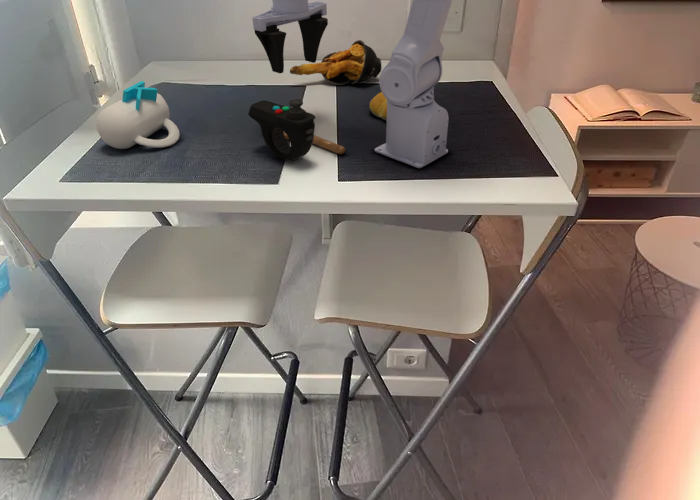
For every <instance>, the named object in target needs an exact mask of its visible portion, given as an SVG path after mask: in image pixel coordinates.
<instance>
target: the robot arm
mask: <svg viewBox="0 0 700 500" xmlns="http://www.w3.org/2000/svg"><path fill="white" fill-rule="evenodd" d="M452 2H453V0H412V1H411V5H410V8H409V13H408V16H407V20H406V23H405V28H404V32H403V34H402V36H401V38H400V39H399V40H398V42H397V44H396V45H395V47H394V49H393V50H392V51H391V56H390V59H389V61H388V63H387V64H386V65H384V67H383V68H382V69H381V72H380V73H379V80H378V82H379V88H380V92H382V93H383V95H384V96H385V98H386V99H387V121H386V128H385V129H386V131H385V143H383V144H380V145H379V146H377V147H375V148H374V152H375V153H377V154H380V155H383V156H385V157H388V158H391V159H393V160H395V161H398V162H401V163H404V164H406V165H409V166H412V167H414V168H417V169H422V168H423V167H426V166H427V165H429V164H431V163H432V162H434V161H436V160H438V159H440V158H441V157H443V156H445V155H446V154H448V153H449V149H448V148H447V140H448V131H449V130H448V129H449V122H450V121H449V120H450V119H449V113H448V110H447V109H446V108H445V107H442V106H441V105H439V104H438V103H437V102H436V101H435V92H434V89H435V86H436V85H437V84H438V83H439V82H440V80H441V79H442V77H443V63H442V58H443V54H444V50H445V47H444V45H443V44H442V41H441V37H442V35H443V32H444V29H445V25H446V21H447V18H448V15H449V12H450V9H451V5H452ZM327 7H328V6H327V2H324V1H314V2H309V0H272V6H271V7H270V9H269V10H268V11H265V12H263V13H261V14H257V15H254V16H252V17H251V18H252V28H253V30H254V34H255V35H256V37H257V38H258V41H259V42H260V43H261V45H262V47H263V49H264V52H265V53H266V56H267V59H268V61H269V65H270V67H271V70H272V72H273V73H277V74H284V71H285V70H284V69H285V63H284V62H285V61H284V60H285V59H284V49H285V41H286V38H287V32H285V31H282V30H280V28H278V27H280V26H283V25H287V24H291V23H295V22H296V23H298V26H299V29H300V34H301V38H302V47H303V57H304V60H305V62H308V63H311V64H315V63H317V59H318V52H319V48H320V44H321V40H322V38H323V35H324V32H325V31H326V29H327V27H328V25H329V19H328V17H325V16H327V15H328V14H327V12H328V11H327V9H328V8H327Z"/></svg>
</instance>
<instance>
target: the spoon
mask: <svg viewBox="0 0 700 500" xmlns="http://www.w3.org/2000/svg"><path fill="white" fill-rule="evenodd" d="M283 133H284V137H285V139H286V141H290V139H289V137H288V136H287V134H286V133H285V132H284V131H283ZM312 145H316V146H317V147H321V148H323V149H325V150H327V151H330V152H333V153H335V154H338V155H344V154H345V152H346V148H345V146H343V145H340V144H339V143H335V142H333V141H332V140H331V141H330V140H327V139H325V138H322V137H320V136H318V135H316V134H314V138H313V143H312Z"/></svg>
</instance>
